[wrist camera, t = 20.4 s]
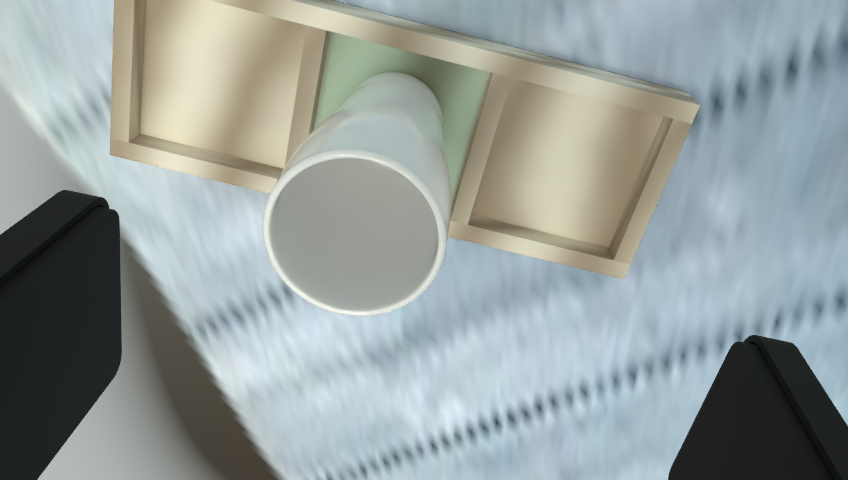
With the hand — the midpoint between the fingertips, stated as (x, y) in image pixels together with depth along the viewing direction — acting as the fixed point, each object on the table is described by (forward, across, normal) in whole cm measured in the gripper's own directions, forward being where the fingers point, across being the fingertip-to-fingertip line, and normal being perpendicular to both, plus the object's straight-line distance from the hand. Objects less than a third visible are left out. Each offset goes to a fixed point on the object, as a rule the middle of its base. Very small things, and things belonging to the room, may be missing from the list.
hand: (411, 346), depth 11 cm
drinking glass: (+28, +3, +6) cm, 29 cm away
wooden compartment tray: (+29, +3, +6) cm, 30 cm away
